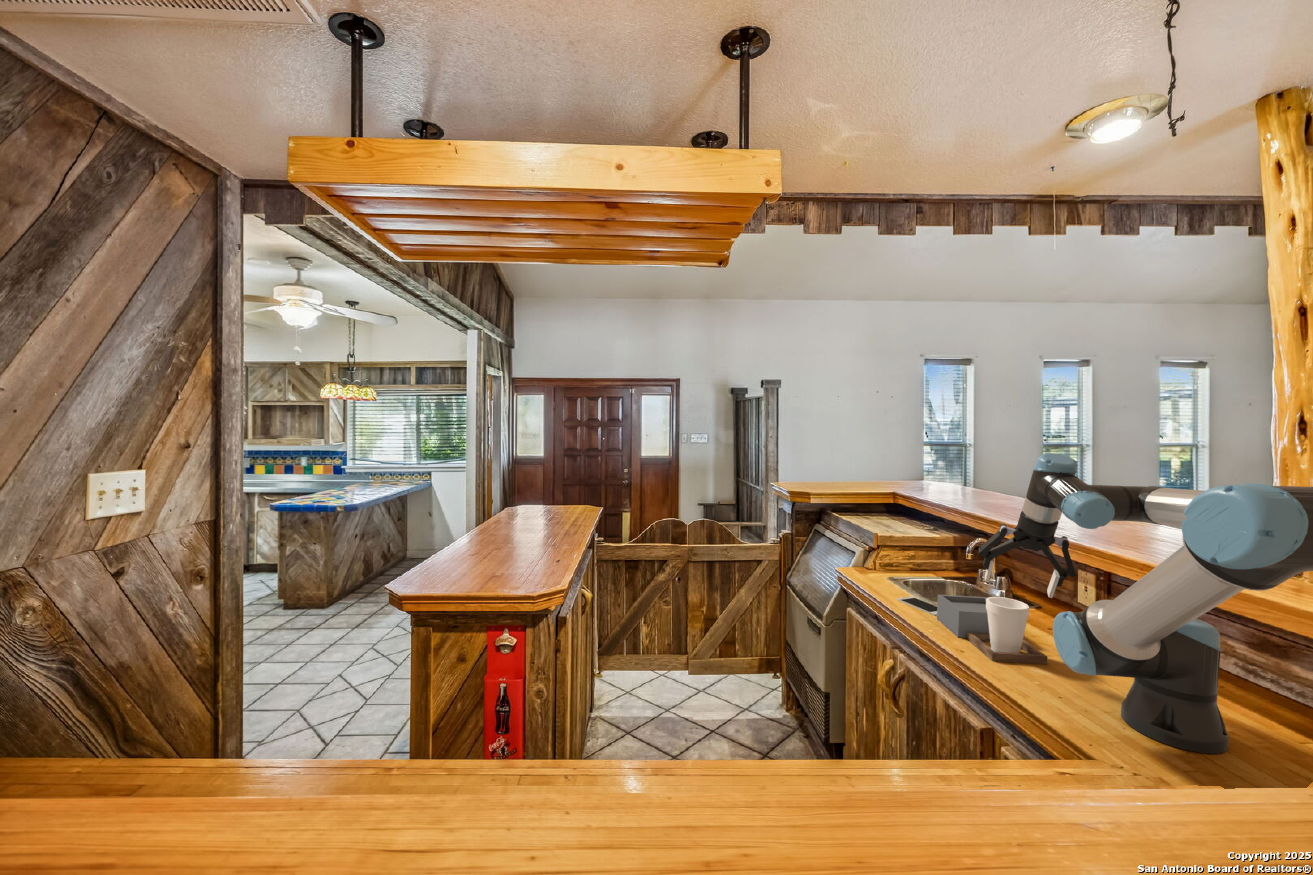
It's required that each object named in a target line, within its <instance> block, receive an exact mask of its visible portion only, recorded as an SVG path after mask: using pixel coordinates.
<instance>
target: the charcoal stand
mask: <svg viewBox="0 0 1313 875" xmlns="http://www.w3.org/2000/svg"><path fill="white" fill-rule="evenodd" d="M986 598H988V597H987V596H972V595H971V596H970V595H969V596H968V595H952V594H937V605H936V606H937V616H936V619H937V621H938V622H940V623H941V624H942V625H943V626H944V627H945V628H947V630H949V631H950V632H951V633H952V634H954V636H955V637H956V638H960V639H967V634H968V632H969V633H986V634H989V624H988V615H987V609H986Z"/></svg>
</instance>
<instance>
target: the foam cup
mask: <svg viewBox="0 0 1313 875" xmlns="http://www.w3.org/2000/svg"><path fill="white" fill-rule="evenodd" d="M986 609H987V615H988V624H989V634H990V642H989V644H990V648H991V649H992V650H993V651H994V652H1008V653H1021V652H1022V648H1021V647H1022V642H1023V640H1024V637H1025V632H1026V627H1027V622H1028V618H1029V616H1030V606H1029V605H1028V604H1027V603H1026V602H1025V603H1024V602H1023V601H1020V600H1017V599H1013V598H1009V597H1002V596H989V597H987V598H986Z"/></svg>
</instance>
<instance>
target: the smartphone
mask: <svg viewBox="0 0 1313 875" xmlns="http://www.w3.org/2000/svg"><path fill="white" fill-rule="evenodd" d="M896 601H898V602H901V603H903V604H905V605H908V606H910V607H912V608H915V609H917V610H920V611H921V612H924V613H927V614H928V615H931V616H934V617H937V605H935V604H932V603H930V602H927V601H925V600H922V599H919V598H918V597H914V596H912V595H911V596H905V597H904V596H903V597H897V598H896Z"/></svg>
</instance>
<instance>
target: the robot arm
mask: <svg viewBox="0 0 1313 875" xmlns="http://www.w3.org/2000/svg"><path fill="white" fill-rule="evenodd" d="M1032 470H1033V471H1032V473H1031V477H1030V480H1029V484H1028V489H1027V493H1026V496H1025V499H1024V502H1023V504H1022V505H1023V506H1022V509H1021V512H1020V514H1019V518H1018V521H1017V525H1016V526H1015V527H1014V528H1013V527H1009V526H1007V524H1005V523H1002V524H1000V526H999V529H998V530H997V531H996V532H995V533H994V534H993V535H992V536H990V537H989V539H987V540H986V541H985V542H984V543H982V545H980V546H979V547H978V555H979V556H980V557H984V559H983V563H982V566H983V567H982V568H983V569H984V570H985V573H984V582H985V583H990V582H989V581H990V579H991V575H992V571H993V570H994V566H995V559H996V558H997V557H999V556H1002V555H1003V554H1006V553H1008V552H1010V551H1012V550H1014V549H1015V550H1017V549H1018V548H1022V549H1025V550H1032V551H1033V552H1036V553H1037V552H1039V551H1042V553H1043V554H1044V555H1045V556H1046V557H1047V559H1048V560H1049V562H1050V564H1052V566H1053V567H1054V569H1053V572H1052V574H1051V578H1050V580H1049V584H1048V586H1047V589H1046V591H1047V592H1046V593H1047V596H1048V599H1049V598H1051V599H1053V597H1054V595H1055V591H1056V588H1057V587H1062V586H1063V583H1064V581H1065V580H1066V579H1067V578H1068V577H1072V578H1076V577H1077V572H1076V568H1075V566H1074V564H1073V561H1072V557H1071V555H1070V551H1069V547H1070V542H1069V539H1068V537H1067V536H1065V535H1062V536H1061V537H1058V536H1055V534H1056V531H1057V529H1058V527H1059V526H1058V525H1059V523H1060V522H1059V521H1060V520H1061V517H1062V514H1063V515H1064V516H1065V517H1066V518H1067V519H1068V520H1070V521H1072V523H1075V524H1076V525H1077V526H1078V527H1081V528H1083V529H1086V530H1087V529H1088V530H1096V529H1098V528H1100V527H1105V526H1107V525H1108V524H1110V523H1111V522H1136V523H1138V522H1139V523H1145V524H1146V523H1147V524H1155V525H1161V526H1162V525H1163V526H1169V527H1176V528H1181V533H1182V537H1181V538H1182V544H1183V545H1182V546H1181V547H1180V548H1178V549H1177V550H1176V551H1175V552H1173V553H1172V554H1171V555H1169V556H1168V557H1167V558H1165V559H1164V560H1163V561H1161V562H1160V563H1159V564H1158V565H1156V566H1155V567H1153V569H1152V570H1150V571H1149V572H1148V573H1146V574H1145V575H1143V576H1142V577H1141V578H1139V579H1138V580H1137V581H1136V582H1135V583H1133V584H1131V586H1129V587H1127V589H1125V590H1124V591H1123V592H1122V593H1121V594H1119V595H1117V596H1116V597H1115V598H1114V599H1100V600H1097V601H1095V602H1092V603H1091V604H1089V605H1088V607H1085V609H1084V610H1082V611H1079V612H1072V611H1071V610H1069V611H1062V612H1059V613H1058V614H1057V615H1056V616H1055V617H1054V619H1053V624H1052V633H1053V640H1054V644H1055V648H1056V650H1057V653H1058V655H1059V656H1060V658H1061V660H1062V661H1063V664H1065V665H1066V666H1067V667H1068V668H1069V670H1072V671H1073V672H1075V673H1077V674H1082V675H1087V676H1091V677H1095V676H1103V677H1121V678H1134V679H1133V682H1132V684H1131V686H1130V688H1129V690H1128V692H1127V695H1126V697H1125V699H1123V701H1122V702H1121V705H1120V716H1121V719H1122V720H1123V721H1124V722H1125V723H1126V724H1127V725H1128V726H1129V727H1130V728H1132V729H1134V730H1136V731H1137V732H1139V733H1140V734H1143V735H1144V736H1146V737H1149V738H1151V739H1153V740H1155V741H1158V742H1159V743H1162V744H1165V745H1167V746H1171V747H1175V748H1178V749H1181V750H1185V751H1190V752H1194V753H1201V754H1211V755H1213V754H1214V755H1215V754H1216V755H1217V754H1223V753H1226V752H1228V750H1229V744H1230V737H1229V732H1228V731H1227V729H1226V726H1225V722H1224V720H1223V716H1222V713H1221V711H1220V708H1219V705H1218V691H1219V690H1218V689H1219V676H1220V664H1221V652H1222V648H1221V634H1220V632H1219V630H1218V629H1217V628H1216V627H1215V626H1214V625H1213V624H1211V623H1208V622H1206V621H1204V620H1202V619H1199V617H1201V616H1202V615H1203V616H1204V614H1206V613H1208V612H1209V611H1211V610H1212V609H1214V608H1217V607H1218V606H1219V605H1221V604H1222V603H1224V602H1226V601H1228V600H1230V599H1231V598H1233V597H1234V596H1236V595H1238V594H1239V593H1241V592H1242V591H1245V590H1248V591H1257V592H1258V591H1259V592H1260V591H1261V592H1263V591H1269V590H1272V589H1274V588H1275V587H1277V586H1279V585H1281V584H1282V583H1284V582H1286V581H1288V580H1289V579H1291V578H1293V577H1295V576H1297V575H1298V574H1299V575H1300V574H1302V573H1305V572H1313V486H1300V485H1299V486H1296V485H1293V486H1292V485H1268V484H1261V483H1240V484H1230V485H1229V484H1228V485H1227V484H1226V485H1225V484H1224V485H1219V486H1215V487H1211V488H1208V489H1206V490H1200V489H1199V490H1198V489H1197V490H1196V489H1183V488H1171V487H1165V486H1164V487H1163V486H1156V485H1155V486H1154V485H1150V486H1149V485H1148V486H1146V485H1145V486H1141V485H1139V486H1138V485H1134V486H1133V485H1132V486H1131V485H1130V486H1129V485H1110V484H1109V485H1103V484H1088V483H1086V482H1084V481H1083V480H1082V479H1080V478H1079V477H1078V476H1077V475H1076V473H1077V472H1078V463H1077V461H1076V460H1075V459H1074V458H1073V457H1070V456H1067V455H1064V454H1060V453H1054V452H1053V453H1051V452H1050V453H1049V452H1047V453H1043V454H1041V455H1040V456H1038V458H1037V459H1036V463H1035V465H1034V467H1033V468H1032ZM1009 535H1012V537H1011V538H1010V539H1008V540H1006V541H1004V542H1002V541H1003V540H1004V538H1005V537H1009ZM1000 542H1002V543H1000ZM999 543H1000V544H999ZM998 544H999V545H998ZM1054 544H1056V545H1057V547H1058V548H1060V549H1061V552H1062V555H1063V558H1064V561H1065V564H1066V567H1067V568H1065V567H1064V566H1063V565H1062V563H1061V562H1060V561H1059V559H1058V557H1057V556H1056V555H1055V553H1054V552H1053V550H1052V549H1051V547H1050V546H1052V545H1054Z"/></svg>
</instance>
